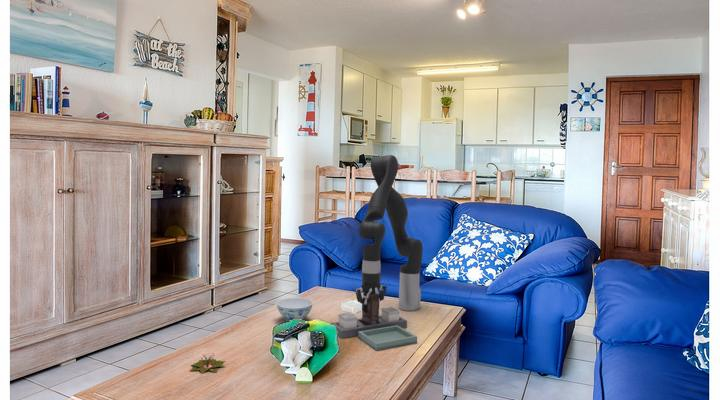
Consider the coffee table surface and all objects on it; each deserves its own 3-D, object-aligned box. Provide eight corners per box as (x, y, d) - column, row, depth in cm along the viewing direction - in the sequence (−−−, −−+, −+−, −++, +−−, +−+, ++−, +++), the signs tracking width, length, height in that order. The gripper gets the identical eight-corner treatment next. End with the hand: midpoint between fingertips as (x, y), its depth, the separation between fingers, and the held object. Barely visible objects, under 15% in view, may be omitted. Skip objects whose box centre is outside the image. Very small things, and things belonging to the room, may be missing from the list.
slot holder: (393, 320, 208) (393, 313, 208) (406, 327, 199) (407, 320, 199) (330, 330, 194) (330, 322, 194) (341, 338, 185) (341, 331, 185)
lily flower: (196, 359, 163) (196, 346, 163) (231, 361, 163) (231, 347, 163) (182, 375, 151) (182, 360, 151) (219, 376, 151) (219, 362, 151)
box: (379, 322, 196) (379, 293, 195) (370, 325, 193) (371, 295, 192) (369, 318, 200) (370, 290, 199) (361, 321, 198) (361, 292, 196)
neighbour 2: (391, 322, 205) (391, 306, 205) (399, 327, 200) (399, 310, 199) (380, 324, 203) (381, 308, 202) (388, 328, 198) (389, 312, 197)
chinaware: (319, 321, 205) (319, 303, 204) (291, 329, 194) (292, 310, 193) (296, 312, 215) (297, 295, 214) (269, 320, 204) (269, 302, 203)
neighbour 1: (349, 329, 196) (350, 312, 195) (356, 334, 190) (357, 316, 190) (338, 331, 193) (338, 314, 193) (345, 336, 188) (345, 318, 187)
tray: (396, 331, 195) (397, 325, 195) (417, 342, 183) (417, 336, 182) (357, 337, 186) (358, 331, 186) (376, 350, 174) (376, 344, 174)
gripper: (381, 267, 201) (380, 306, 203) (351, 270, 195) (350, 311, 196) (391, 270, 195) (390, 311, 196) (360, 274, 188) (359, 317, 189)
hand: (370, 311), depth 196 cm, fingers closed on box, 4 cm apart
